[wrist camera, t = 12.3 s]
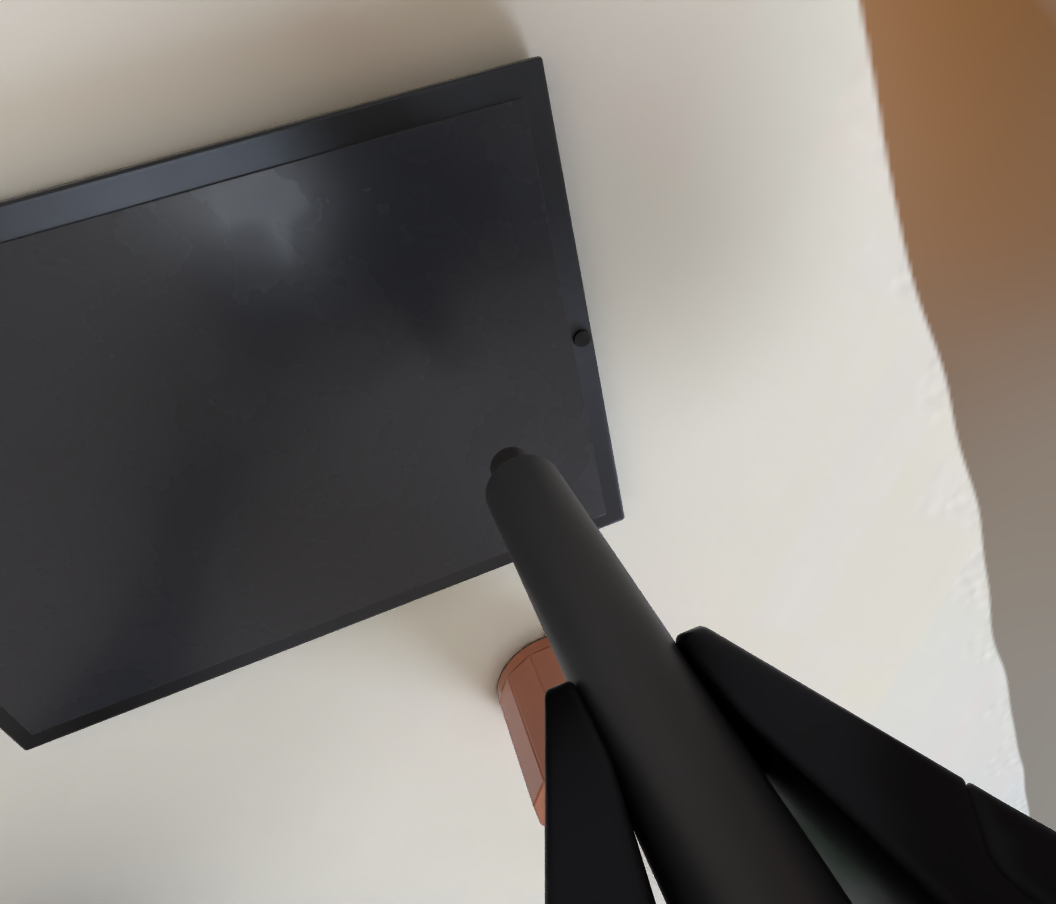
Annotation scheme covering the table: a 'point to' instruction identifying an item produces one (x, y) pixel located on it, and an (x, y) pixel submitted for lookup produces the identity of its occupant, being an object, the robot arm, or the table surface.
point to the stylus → (651, 709)
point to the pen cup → (530, 712)
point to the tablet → (279, 389)
